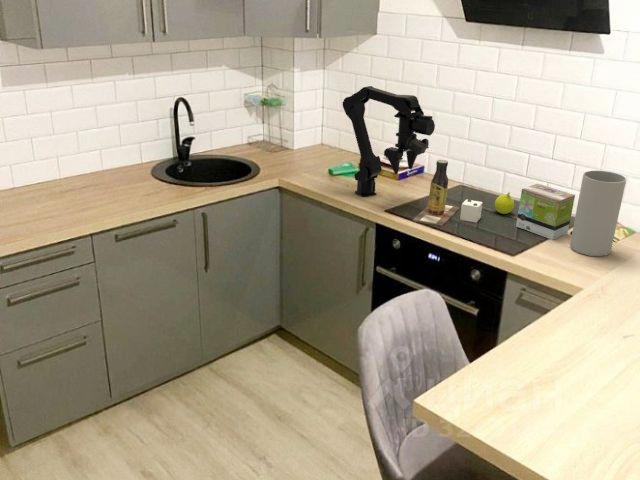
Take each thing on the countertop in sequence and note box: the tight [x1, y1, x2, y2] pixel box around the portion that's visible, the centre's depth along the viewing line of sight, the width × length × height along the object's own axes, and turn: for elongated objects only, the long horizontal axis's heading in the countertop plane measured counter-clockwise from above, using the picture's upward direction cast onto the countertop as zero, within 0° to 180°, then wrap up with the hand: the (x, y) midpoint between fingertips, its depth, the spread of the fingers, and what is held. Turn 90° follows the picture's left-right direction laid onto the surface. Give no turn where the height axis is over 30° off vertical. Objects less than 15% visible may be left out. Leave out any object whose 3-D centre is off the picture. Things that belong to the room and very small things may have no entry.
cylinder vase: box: [569, 170, 627, 257], centre depth 205 cm, size 12×12×25 cm
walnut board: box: [412, 204, 460, 228], centre depth 236 cm, size 21×11×1 cm, turn 152°
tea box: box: [515, 183, 576, 241], centre depth 221 cm, size 15×10×15 cm
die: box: [459, 198, 484, 223], centre depth 232 cm, size 6×6×7 cm
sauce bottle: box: [427, 159, 449, 215], centre depth 232 cm, size 7×6×20 cm
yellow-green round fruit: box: [494, 191, 515, 215], centre depth 237 cm, size 7×7×10 cm
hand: (403, 171), depth 241 cm, fingers open, 9 cm apart
